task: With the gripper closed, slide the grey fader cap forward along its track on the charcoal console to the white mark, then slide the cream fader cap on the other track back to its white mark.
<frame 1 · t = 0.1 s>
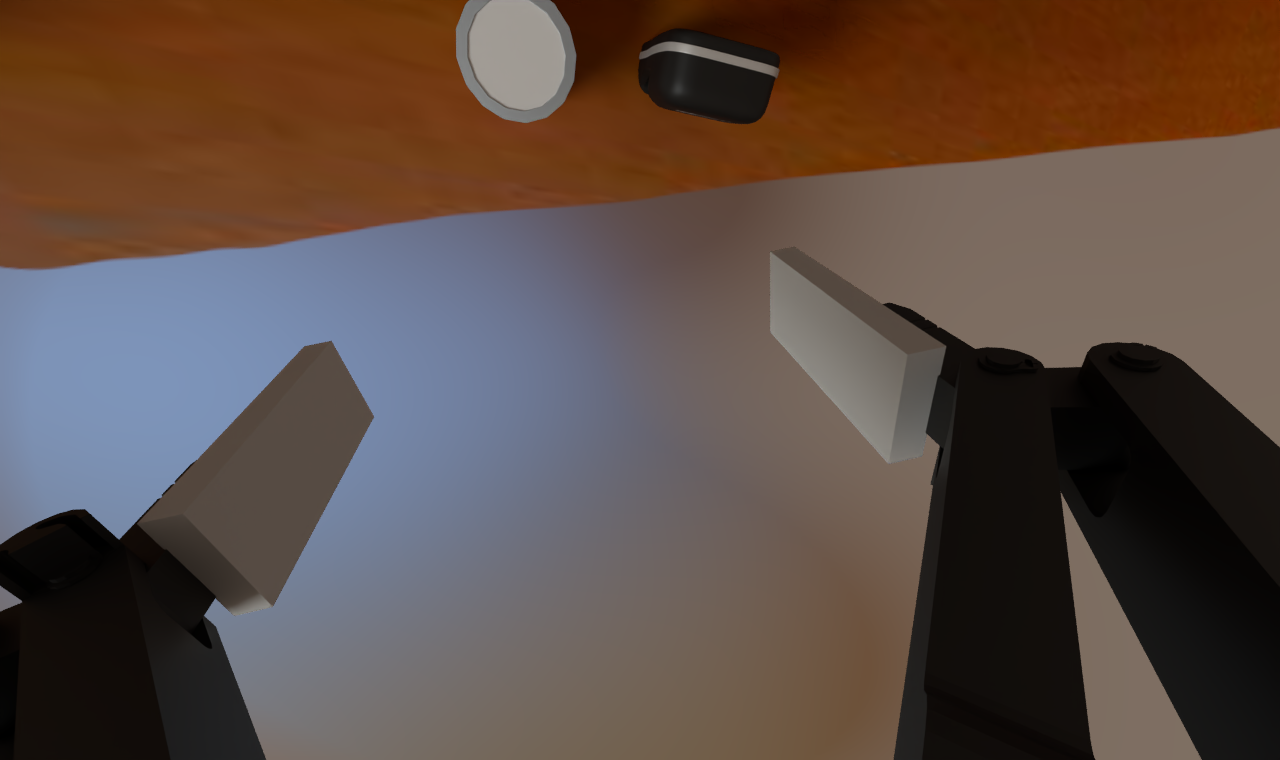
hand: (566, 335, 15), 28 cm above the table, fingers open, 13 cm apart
grey rimmed cylinder: (522, 61, 34), on the table
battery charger: (678, 82, 36), on the table
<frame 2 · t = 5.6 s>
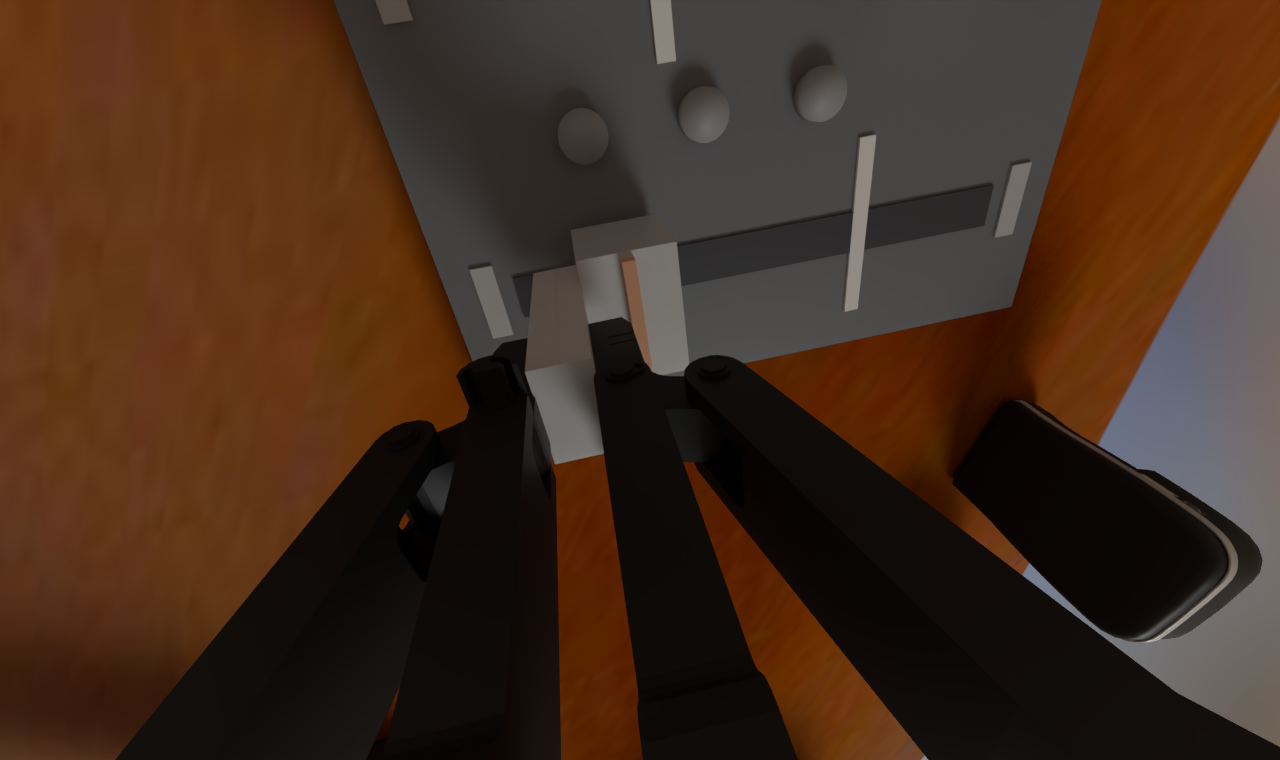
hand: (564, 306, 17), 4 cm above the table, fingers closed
grey fader: (629, 300, 16), point 4 cm above the table, slide at -5.5 cm, touching gripper
console: (738, 102, 18), on the table
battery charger: (994, 441, 30), on the table
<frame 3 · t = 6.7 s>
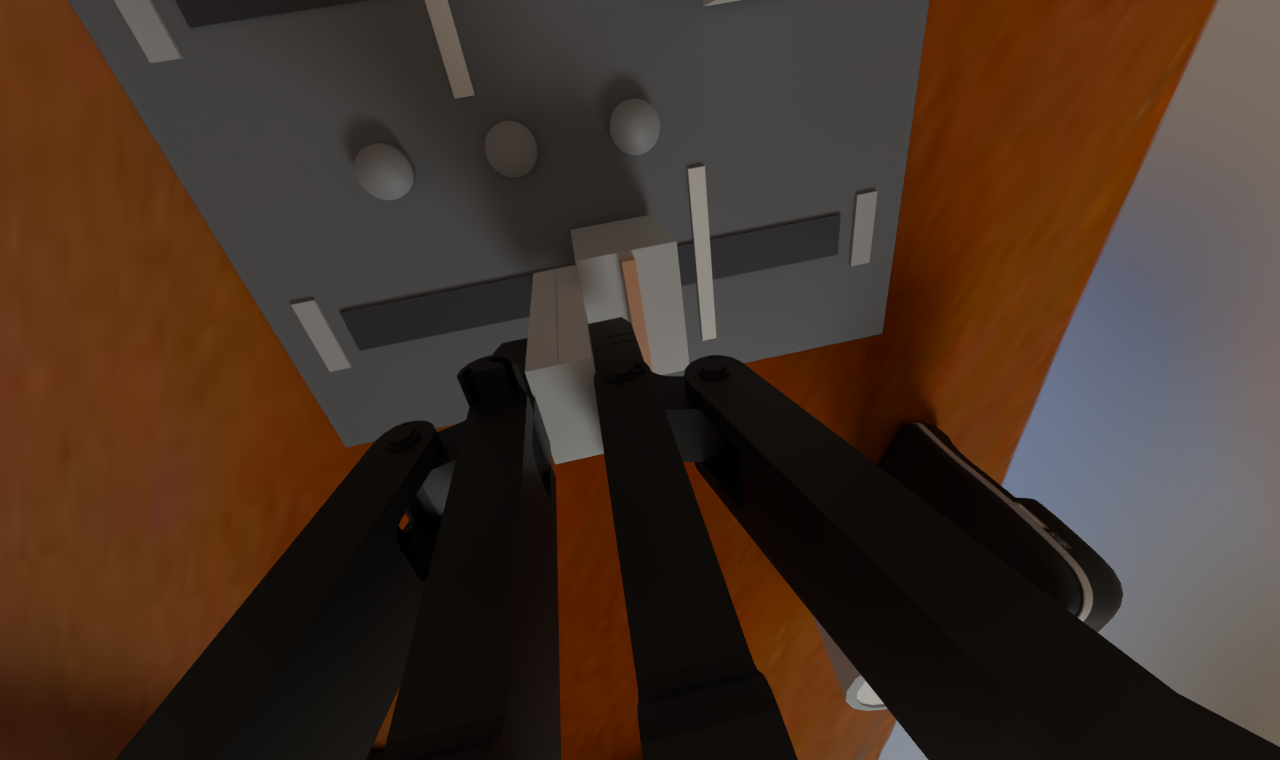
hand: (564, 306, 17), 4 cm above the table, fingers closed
grey rimmed cylinder: (840, 581, 35), on the table
grey fader: (629, 300, 16), point 4 cm above the table, slide at 0.8 cm, touching gripper
console: (570, 132, 17), on the table
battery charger: (900, 462, 30), on the table
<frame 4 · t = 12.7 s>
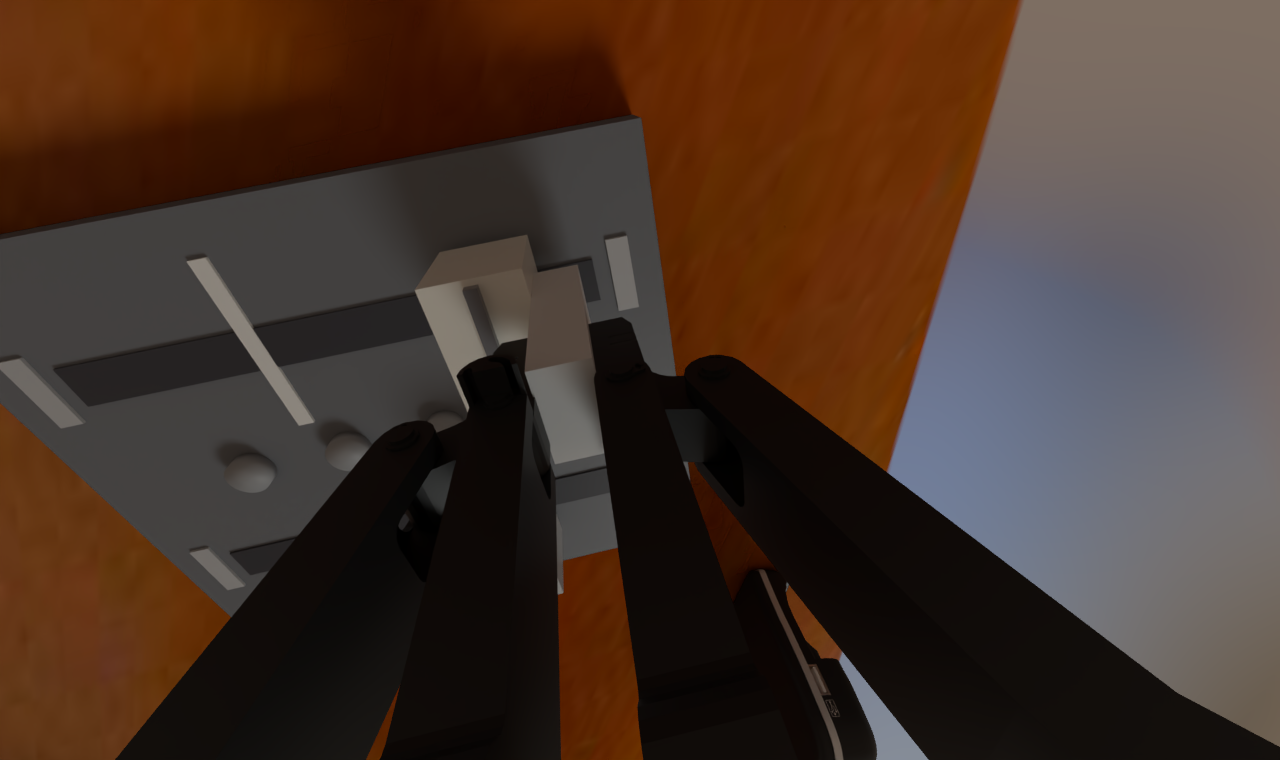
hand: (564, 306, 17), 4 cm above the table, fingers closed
cream fader: (498, 324, 16), point 4 cm above the table, slide at 6.0 cm, touching gripper
grey fader: (517, 538, 21), point 4 cm above the table, slide at 3.7 cm
console: (411, 409, 22), on the table
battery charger: (757, 594, 34), on the table
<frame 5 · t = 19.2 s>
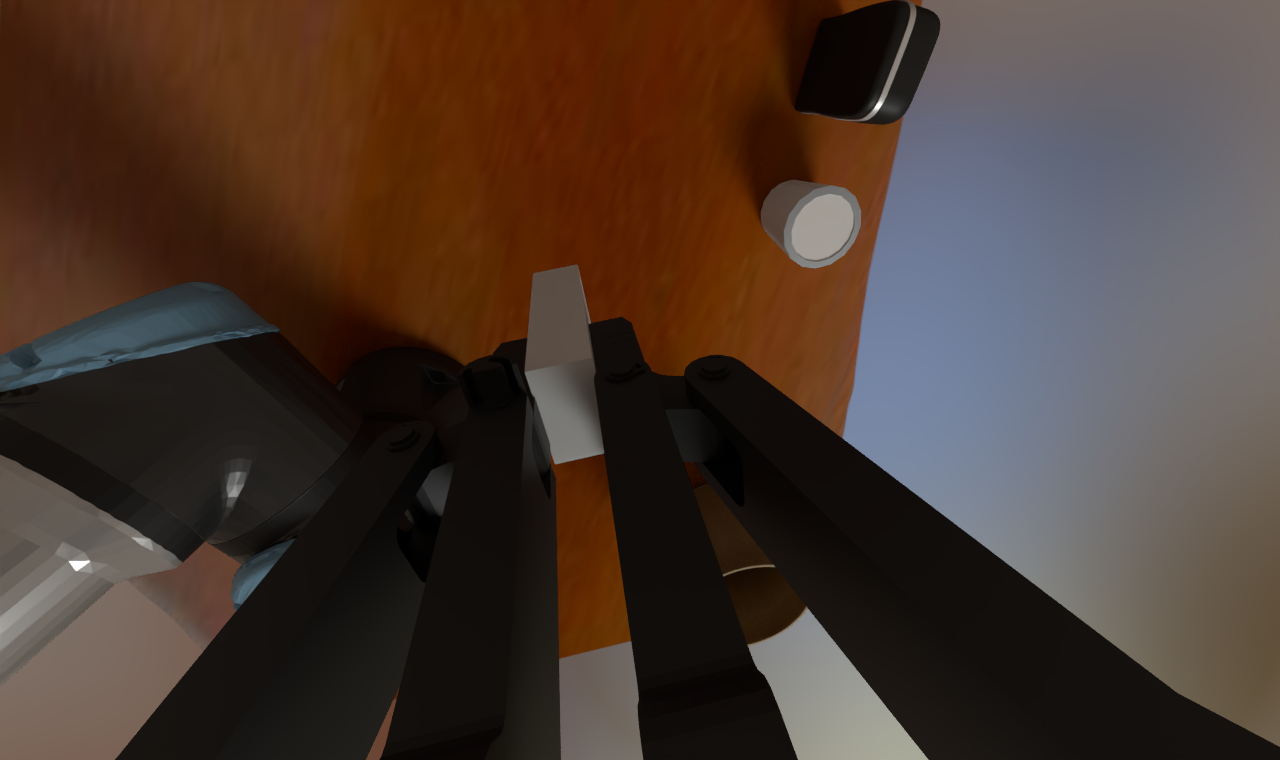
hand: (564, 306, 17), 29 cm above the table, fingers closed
grey rimmed cylinder: (787, 210, 46), on the table
plant pot: (706, 502, 66), on the table
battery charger: (823, 71, 41), on the table
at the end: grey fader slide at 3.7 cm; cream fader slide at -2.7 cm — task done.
